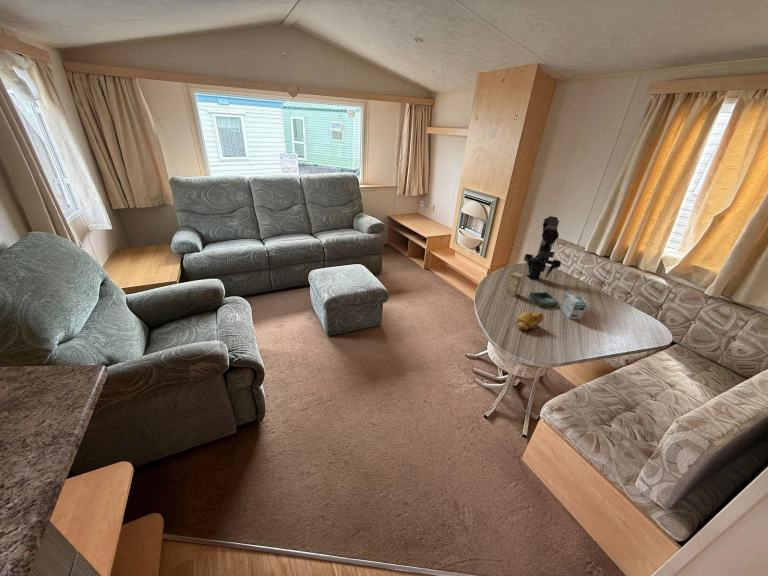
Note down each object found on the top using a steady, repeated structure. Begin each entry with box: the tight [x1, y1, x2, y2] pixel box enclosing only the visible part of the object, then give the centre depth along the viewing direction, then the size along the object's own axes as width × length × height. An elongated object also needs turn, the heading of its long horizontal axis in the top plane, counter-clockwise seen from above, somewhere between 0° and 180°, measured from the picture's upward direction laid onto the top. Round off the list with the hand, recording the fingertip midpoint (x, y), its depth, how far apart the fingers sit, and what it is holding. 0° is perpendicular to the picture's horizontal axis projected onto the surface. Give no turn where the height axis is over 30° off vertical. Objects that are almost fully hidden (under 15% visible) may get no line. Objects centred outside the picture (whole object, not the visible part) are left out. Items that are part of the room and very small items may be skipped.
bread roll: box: [516, 311, 544, 331], centre depth 153 cm, size 13×10×8 cm
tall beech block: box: [505, 272, 523, 297], centre depth 182 cm, size 4×4×12 cm
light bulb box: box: [559, 291, 589, 320], centre depth 166 cm, size 11×7×11 cm, turn 179°
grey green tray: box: [528, 291, 559, 308], centre depth 178 cm, size 11×11×3 cm
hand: (537, 275), depth 176 cm, fingers open, 9 cm apart
